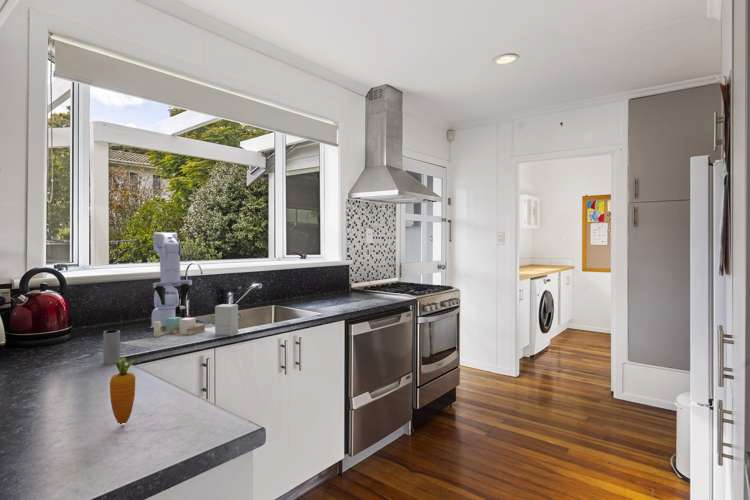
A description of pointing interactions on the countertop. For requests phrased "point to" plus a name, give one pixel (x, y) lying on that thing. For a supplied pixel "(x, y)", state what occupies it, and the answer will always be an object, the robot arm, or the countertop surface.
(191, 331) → the lane shelf
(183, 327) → the plain block
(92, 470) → the countertop surface
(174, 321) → the strung block
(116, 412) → the carrot
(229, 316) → the supplement box
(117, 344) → the planter
